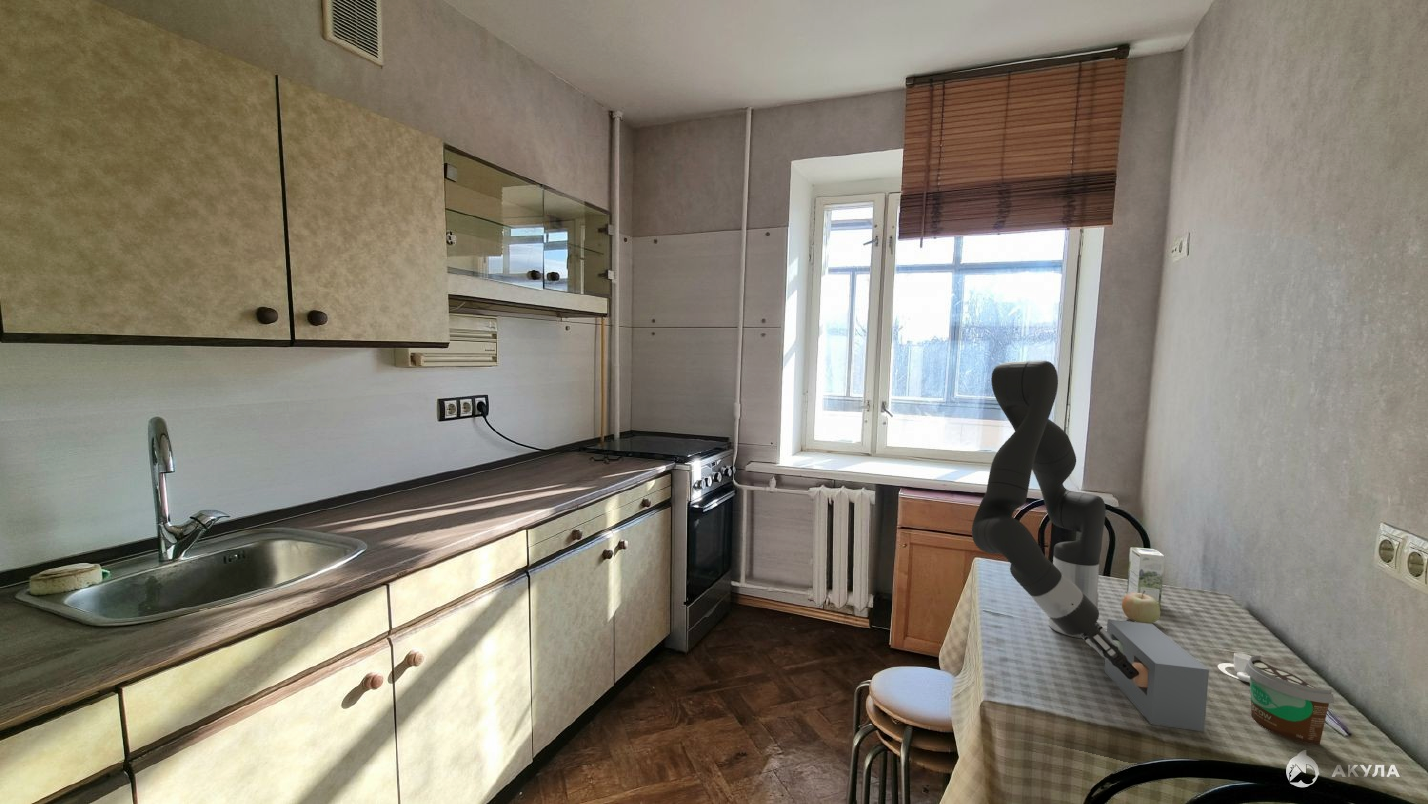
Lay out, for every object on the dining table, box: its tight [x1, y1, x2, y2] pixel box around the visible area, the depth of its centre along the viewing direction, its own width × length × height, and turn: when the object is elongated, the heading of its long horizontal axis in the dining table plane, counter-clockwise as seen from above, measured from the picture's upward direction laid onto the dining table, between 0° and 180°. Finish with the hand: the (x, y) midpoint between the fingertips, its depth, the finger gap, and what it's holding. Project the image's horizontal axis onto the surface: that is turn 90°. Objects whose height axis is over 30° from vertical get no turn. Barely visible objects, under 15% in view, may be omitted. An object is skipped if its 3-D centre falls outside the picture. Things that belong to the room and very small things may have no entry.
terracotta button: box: [1132, 662, 1149, 687], centre depth 103 cm, size 4×4×4 cm
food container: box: [1245, 654, 1335, 745], centre depth 99 cm, size 12×6×10 cm, turn 5°
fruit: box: [1121, 591, 1161, 624], centre depth 141 cm, size 8×7×8 cm
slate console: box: [1103, 618, 1210, 732], centre depth 106 cm, size 8×18×11 cm, turn 167°
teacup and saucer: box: [1217, 652, 1253, 684], centre depth 116 cm, size 9×8×4 cm
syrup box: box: [1126, 546, 1166, 608], centre depth 152 cm, size 6×6×14 cm
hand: (1132, 674), depth 103 cm, fingers closed
